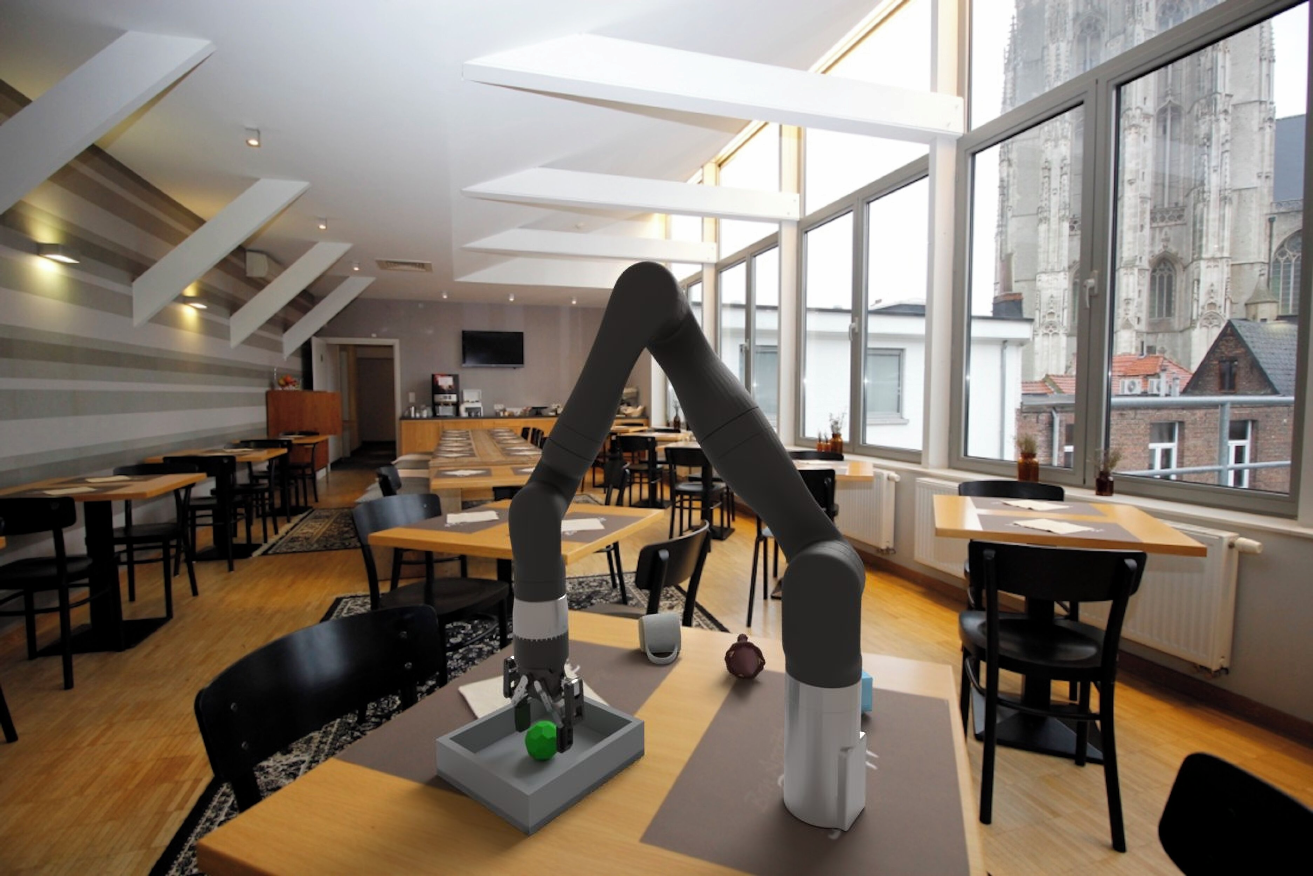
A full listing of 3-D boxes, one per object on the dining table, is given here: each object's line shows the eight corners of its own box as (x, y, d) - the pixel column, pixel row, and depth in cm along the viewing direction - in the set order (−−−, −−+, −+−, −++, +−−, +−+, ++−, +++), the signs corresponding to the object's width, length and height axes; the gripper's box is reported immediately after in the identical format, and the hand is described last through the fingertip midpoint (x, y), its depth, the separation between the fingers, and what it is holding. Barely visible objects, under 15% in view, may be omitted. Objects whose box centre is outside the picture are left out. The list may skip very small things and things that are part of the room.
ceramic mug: (637, 644, 130) (637, 608, 129) (676, 642, 131) (676, 606, 130) (642, 667, 120) (642, 628, 119) (685, 664, 121) (685, 626, 120)
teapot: (808, 689, 110) (809, 648, 110) (840, 686, 111) (841, 645, 111) (841, 725, 98) (842, 678, 98) (876, 721, 100) (878, 675, 99)
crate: (644, 754, 91) (644, 721, 90) (529, 836, 74) (528, 795, 74) (553, 712, 103) (553, 682, 102) (436, 774, 86) (435, 739, 86)
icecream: (776, 660, 107) (762, 634, 122) (733, 649, 107) (725, 624, 122) (765, 700, 107) (753, 669, 122) (723, 689, 107) (716, 659, 122)
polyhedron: (521, 751, 90) (521, 719, 89) (555, 743, 92) (555, 712, 91) (530, 770, 85) (529, 736, 85) (565, 762, 87) (565, 728, 87)
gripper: (597, 630, 85) (598, 745, 87) (528, 608, 94) (530, 713, 95) (556, 648, 79) (557, 771, 81) (486, 622, 88) (489, 734, 90)
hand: (542, 739), depth 88 cm, fingers open, 8 cm apart
